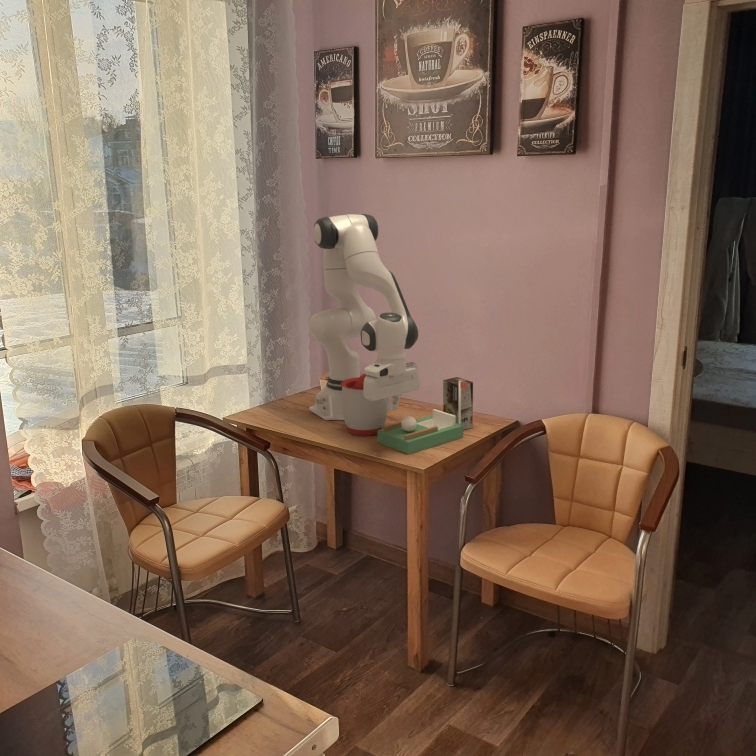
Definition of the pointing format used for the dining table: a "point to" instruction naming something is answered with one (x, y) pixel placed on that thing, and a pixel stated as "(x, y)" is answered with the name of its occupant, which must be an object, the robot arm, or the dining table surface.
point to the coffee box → (453, 397)
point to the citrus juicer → (361, 408)
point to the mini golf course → (424, 431)
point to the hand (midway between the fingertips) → (392, 409)
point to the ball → (409, 423)
